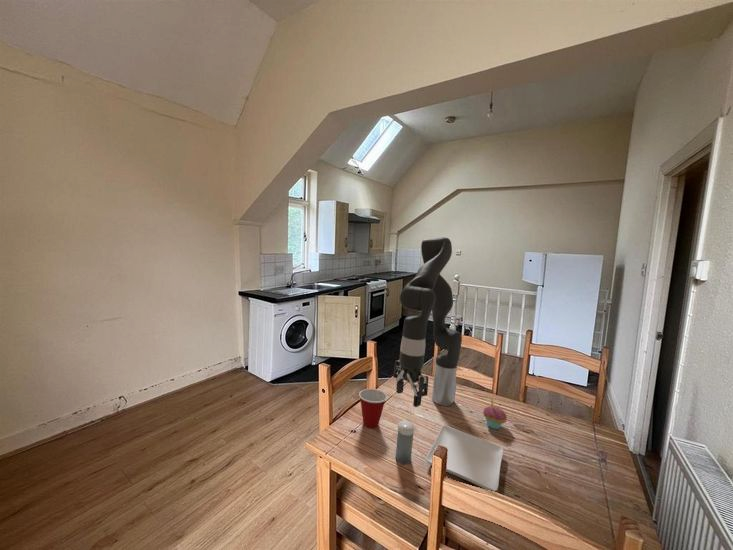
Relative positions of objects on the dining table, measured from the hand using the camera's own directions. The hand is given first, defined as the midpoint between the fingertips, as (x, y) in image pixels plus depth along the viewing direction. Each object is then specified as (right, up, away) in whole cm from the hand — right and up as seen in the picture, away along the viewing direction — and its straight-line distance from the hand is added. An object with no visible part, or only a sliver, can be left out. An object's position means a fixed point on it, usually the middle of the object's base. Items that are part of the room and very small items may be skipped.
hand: (407, 399), depth 94 cm
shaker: (-1, -20, +2) cm, 21 cm away
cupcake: (+38, -21, +24) cm, 49 cm away
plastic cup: (-11, -18, +19) cm, 29 cm away
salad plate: (+19, -22, +3) cm, 30 cm away
